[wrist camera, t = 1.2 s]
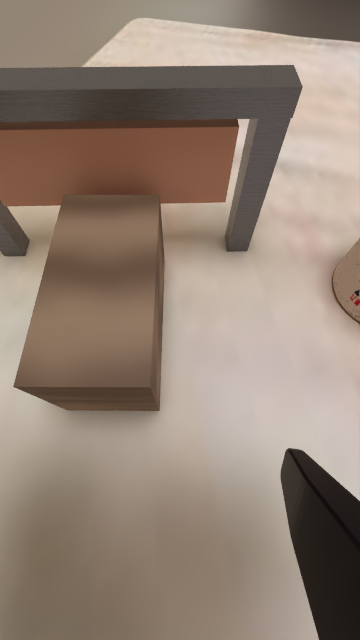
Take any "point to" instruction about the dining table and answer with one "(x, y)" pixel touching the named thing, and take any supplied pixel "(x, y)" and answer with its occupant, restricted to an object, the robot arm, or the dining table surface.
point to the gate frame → (163, 117)
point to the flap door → (116, 160)
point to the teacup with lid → (349, 281)
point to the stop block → (99, 307)
